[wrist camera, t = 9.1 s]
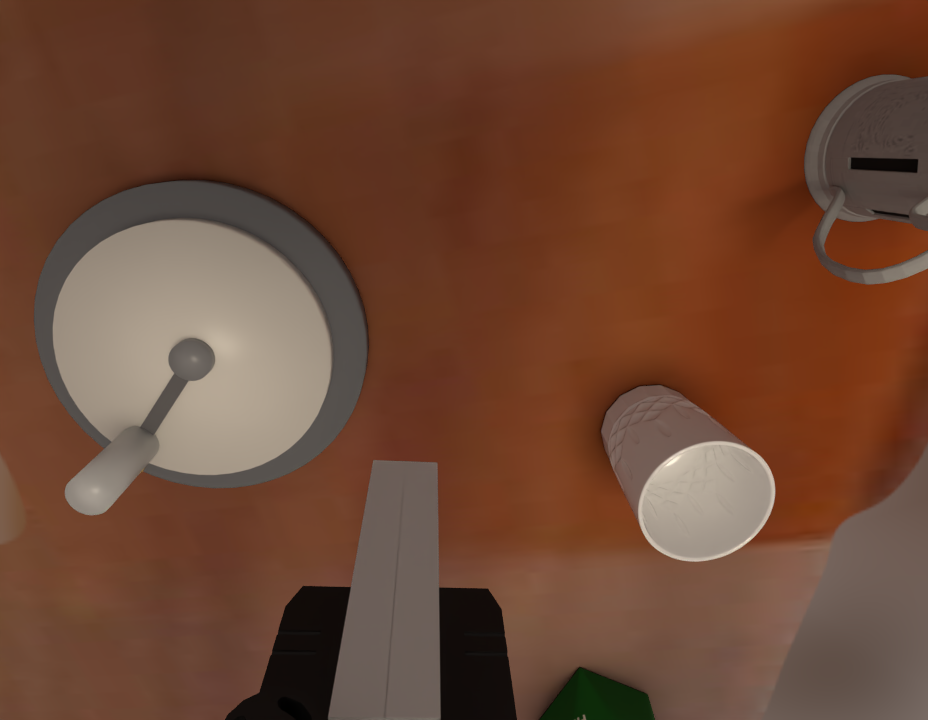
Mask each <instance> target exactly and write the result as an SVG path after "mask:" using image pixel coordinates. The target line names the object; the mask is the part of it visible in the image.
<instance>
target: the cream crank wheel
mask: <svg viewBox="0 0 928 720" xmlns="http://www.w3.org/2000/svg"><path fill="white" fill-rule="evenodd" d="M53 346H54V352H55V357H56V362H57V365H58V368H59V371H60V374H61V377H62V380H63V382H64V384H65V386H66V388H67V390H68V392H69V394H70V396H71V397H72V399H73V401H74V402H75V404H76V405H77V407H78V408H79V410H80V411H81V412H82V413H83V415H84V416H85V417H86V418H87V419H88V421H89V422H90V423H91V424H92V425H93V426H94V427H95V428H96V429H97V430H98V431H99V432H100V433H101V434H102V435H104V436H105V437H106V438H107V439H109V440H110V441H111V443H110V444H109V445H108V446H107V447H106V448H105V449H104V450H103V451H102V452H100V453H99V454H98V455H97V456H96V457H95V458H94V459H93V460H92V461H91V462H90V463H89V464H88V465H87V466H85V467H84V468H83V469H82V470H81V471H80V472H79V473H78V474H77V475H76V476H75V477H74V478H73V479H72V480H71V481H70V482H68V484H67V486H66V488H65V497H66V500H67V502H68V503H69V504H70V506H71V507H72V508H74V509H75V510H76V511H78V512H80V513H83V514H87V515H98V514H101V513H104V512H105V511H107V510H108V509H109V508H110V507H111V505H112V504H113V503H114V502H115V501H116V500H117V499H118V497H119V496H120V495H121V494H122V493H123V492H124V491H125V489H126V488H127V487H128V486H129V485H130V484H131V483H132V482H133V480H134V479H135V478H136V477H137V476H138V475H139V474H140V472H141V471H142V470H143V469H144V468H145V467H146V466H147V464H148V463H150V464H153V465H156V466H158V467H161V468H164V469H168V470H172V471H177V472H181V473H188V474H196V475H220V474H230V473H235V472H240V471H244V470H248V469H251V468H254V467H257V466H260V465H262V464H264V463H266V462H268V461H270V460H272V459H274V458H276V457H278V456H279V455H281V454H282V453H284V452H285V451H287V450H288V449H289V448H290V447H292V446H293V445H294V444H295V443H296V442H297V441H298V440H299V439H300V438H301V437H302V436H303V435H304V434H305V432H306V431H307V430H308V429H309V428H310V426H311V425H312V423H313V421H314V420H315V418H316V417H317V415H318V413H319V411H320V408H321V406H322V404H323V401H324V399H325V397H326V394H327V392H328V389H329V385H330V381H331V377H332V370H333V362H334V355H333V340H332V334H331V329H330V325H329V322H328V319H327V315H326V313H325V310H324V308H323V306H322V304H321V302H320V299H319V297H318V296H317V294H316V292H315V291H314V289H313V288H312V286H311V284H310V283H309V281H308V280H307V279H306V278H305V276H304V275H303V274H302V273H301V272H300V270H299V269H298V268H297V267H296V266H295V265H294V264H293V263H292V262H291V261H290V260H289V259H288V258H287V257H286V256H285V255H283V254H282V253H281V252H279V251H278V250H277V249H275V248H274V247H273V246H272V245H270V244H268V243H267V242H265V241H263V240H262V239H260V238H258V237H257V236H255V235H253V234H251V233H248V232H246V231H244V230H242V229H239V228H237V227H234V226H231V225H227V224H224V223H221V222H217V221H211V220H205V219H198V218H173V219H162V220H158V221H153V222H149V223H145V224H141V225H137V226H134V227H131V228H128V229H126V230H123V231H121V232H118V233H116V234H114V235H112V236H110V237H109V238H107V239H105V240H103V241H101V242H100V243H99V244H97V245H96V246H95V247H94V248H92V249H91V250H90V251H89V252H87V253H86V254H85V255H84V256H83V258H82V259H81V260H80V261H79V262H78V263H77V264H76V265H75V267H74V268H73V270H72V271H71V273H70V274H69V276H68V277H67V279H66V280H65V283H64V285H63V287H62V289H61V291H60V294H59V296H58V300H57V304H56V307H55V311H54V320H53Z"/></svg>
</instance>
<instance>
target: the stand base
mask: <svg viewBox="0 0 928 720" xmlns="http://www.w3.org/2000/svg"><path fill="white" fill-rule="evenodd" d="M173 218H198V219H205V220H211V221H217V222H221V223H224V224H227V225H231V226H234V227H237V228H239V229H242V230H244V231H246V232H248V233H251V234H253V235H255V236H257V237H258V238H260V239H262V240H263V241H265V242H267V243H268V244H270V245H272V246H273V247H274V248H275V249H277V250H278V251H279V252H281V253H282V254H283V255H285V256H286V257H287V258H288V259H289V260H290V261H291V262H292V263H293V264H294V265H295V266H296V267H297V268H298V269H299V270H300V272H301V273H302V274H303V275H304V276H305V278H306V279H307V280H308V281H309V283H310V284H311V286H312V288H313V289H314V291H315V292H316V294H317V296H318V297H319V299H320V302H321V304H322V306H323V308H324V310H325V313H326V315H327V319H328V322H329V325H330V329H331V334H332V340H333V355H334V362H333V370H332V377H331V381H330V385H329V389H328V392H327V394H326V397H325V399H324V401H323V404H322V406H321V408H320V411H319V413H318V415H317V417H316V418H315V420H314V421H313V423H312V425H311V426H310V428H309V429H308V430H307V431H306V432H305V434H304V435H303V436H302V437H301V438H300V439H299V440H298V441H297V442H296V443H295V444H294V445H293V446H292V447H290V448H289V449H288V450H287V451H285V452H284V453H282V454H281V455H279V456H278V457H276V458H274V459H272V460H270V461H268V462H266V463H264V464H262V465H260V466H257V467H254V468H251V469H248V470H244V471H240V472H235V473H230V474H220V475H196V474H188V473H181V472H177V471H172V470H168V469H164V468H161V467H158V466H156V465H153V464H150V463H148V464H147V466H146V467H145V468H144V469H143V470H142V471H144V472H146V473H149V474H151V475H153V476H156V477H159V478H162V479H165V480H168V481H172V482H175V483H180V484H185V485H190V486H196V487H208V488H235V487H242V486H250V485H255V484H259V483H263V482H267V481H271V480H273V479H276V478H279V477H281V476H284V475H286V474H289V473H291V472H292V471H294V470H296V469H298V468H300V467H301V466H303V465H305V464H306V463H308V462H309V461H311V460H312V459H313V458H315V457H316V456H317V455H319V454H320V453H321V452H322V451H323V450H324V449H325V448H326V447H327V446H328V445H329V444H330V443H331V442H332V441H333V440H334V439H335V438H336V436H337V435H338V434H339V433H340V431H341V430H342V429H343V427H344V426H345V424H346V423H347V421H348V419H349V417H350V416H351V414H352V412H353V410H354V407H355V405H356V402H357V400H358V397H359V395H360V392H361V388H362V384H363V380H364V376H365V372H366V368H367V362H368V351H369V338H368V325H367V320H366V314H365V309H364V306H363V303H362V300H361V297H360V294H359V290H358V288H357V286H356V284H355V282H354V280H353V278H352V276H351V274H350V271H349V270H348V268H347V267H346V265H345V264H344V262H343V261H342V259H341V257H340V256H339V254H338V253H337V252H336V251H335V249H334V248H333V247H332V246H331V245H330V243H329V242H328V241H327V240H326V239H325V237H324V236H323V235H321V234H320V233H319V232H318V231H317V230H316V229H315V228H314V227H313V226H312V225H311V224H310V223H309V222H307V221H306V220H305V219H303V218H302V217H301V216H299V215H298V214H296V213H295V212H294V211H292V210H291V209H290V208H288V207H286V206H284V205H282V204H281V203H279V202H277V201H275V200H273V199H272V198H270V197H267V196H265V195H262V194H260V193H258V192H255V191H253V190H250V189H247V188H243V187H240V186H236V185H232V184H229V183H222V182H215V181H208V180H178V181H170V182H163V183H155V184H148V185H143V186H140V187H136V188H132V189H129V190H125V191H123V192H120V193H118V194H116V195H114V196H111V197H109V198H107V199H105V200H103V201H101V202H100V203H98V204H97V205H95V206H93V207H92V208H90V209H89V210H87V211H86V212H85V213H83V214H82V215H81V216H80V217H79V218H78V219H77V220H76V221H74V222H73V223H72V224H71V225H70V226H69V227H68V228H67V230H66V231H65V232H64V233H63V235H62V236H61V237H60V238H59V239H58V241H57V242H56V244H55V245H54V247H53V249H52V251H51V252H50V254H49V256H48V258H47V259H46V262H45V265H44V267H43V270H42V272H41V275H40V278H39V282H38V287H37V291H36V296H35V308H34V325H35V336H36V342H37V347H38V351H39V355H40V359H41V362H42V365H43V367H44V370H45V373H46V375H47V378H48V380H49V382H50V384H51V386H52V388H53V389H54V391H55V393H56V395H57V397H58V399H59V400H60V401H61V403H62V404H63V406H64V407H65V409H66V410H67V411H68V413H69V414H70V416H71V417H72V418H73V419H74V420H75V421H76V422H77V423H78V425H79V426H80V427H81V428H82V429H83V430H84V431H85V432H86V433H87V434H88V435H89V436H90V437H92V438H93V439H94V440H95V441H96V442H97V443H98V444H99V445H101V446H102V447H103V448H106V447H107V446H108V445H109V444H110V443H111V441H110V440H109V439H107V438H106V437H105V436H104V435H102V434H101V433H100V432H99V431H98V430H97V429H96V428H95V427H94V426H93V425H92V424H91V423H90V422H89V421H88V419H87V418H86V417H85V416H84V415H83V413H82V412H81V411H80V410H79V408H78V407H77V405H76V404H75V402H74V401H73V399H72V397H71V396H70V394H69V392H68V390H67V388H66V386H65V384H64V382H63V380H62V377H61V374H60V371H59V368H58V365H57V362H56V357H55V352H54V346H53V320H54V311H55V307H56V304H57V300H58V296H59V294H60V291H61V289H62V287H63V285H64V283H65V280H66V279H67V277H68V276H69V274H70V273H71V271H72V270H73V268H74V267H75V265H76V264H77V263H78V262H79V261H80V260H81V259H82V258H83V256H84V255H85V254H86V253H87V252H89V251H90V250H91V249H92V248H94V247H95V246H96V245H97V244H99V243H100V242H101V241H103V240H105V239H107V238H109V237H110V236H112V235H114V234H116V233H118V232H121V231H123V230H126V229H128V228H131V227H134V226H137V225H141V224H145V223H149V222H153V221H158V220H162V219H173ZM142 471H141V473H142Z"/></svg>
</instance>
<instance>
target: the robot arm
mask: <svg viewBox="0 0 928 720" xmlns="http://www.w3.org/2000/svg"><path fill="white" fill-rule="evenodd" d="M225 720H517V717H516V710H515V702H514V695H513V688H512V681H511V674H510V667H509V660H508V657H507V645H506V638H505V631H504V624H503V617H502V610H501V608H500V606H499V605H498V603H497V602H496V600H495V599H494V597H493V596H492V594H491V593H490V591H489V590H488V589H477V588H439V553H438V473H437V463H434V462H408V461H382V460H373V466H372V471H371V477H370V483H369V488H368V494H367V500H366V505H365V511H364V517H363V522H362V528H361V533H360V539H359V545H358V550H357V556H356V562H355V567H354V573H353V579H352V584H351V587H321V586H303V587H302V588H301V589H300V590H299V591H298V593H297V594H296V595H295V596H294V597H293V598H292V600H291V601H290V602H289V603H288V604H287V605H286V607H285V610H284V613H283V617H282V620H281V623H280V627H279V630H278V635H277V636H276V640H275V643H274V646H273V650H272V655H271V656H270V659H269V663H268V666H267V669H266V673H265V676H264V679H263V682H262V686H261V689H260V692H259V693H258V694H256V695H254V696H252V697H250V698H248V699H245V700H243V701H242V702H241V703H240V704H239V705H238V706H237V707H236V708H235V709H234V710H232V711H231V712H230V713H229V714H228V715H227V717H226V719H225Z"/></svg>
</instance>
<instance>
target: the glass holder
mask: <svg viewBox="0 0 928 720" xmlns="http://www.w3.org/2000/svg"><path fill="white" fill-rule="evenodd" d="M804 171H805V178H806V183H807V186H808V188H809V191H810V193H811V195H812V197H813V198H814V200H815V202H816V203H817V204H818V205H819V206H820V207H821V208H822V209H823V210H824V211H826V212H825V214H824V215H823V217H822V219H821V221H820V223H819V225H818V227H817V229H816V231H815V234H814V237H813V246H814V250H815V253H816V255H817V256H818V258H819V260H820V262H821V264H822V265H823V266H824V267H825V268H826V269H828V270H829V271H830V272H831V273H832V274H833V275H836V276H838V277H841V278H843V279H846V280H848V281H851V282H857V283H862V284H878V283H888V282H891V281H895V280H899V279H903V278H906V277H909V276H911V275H913V274H916V273H918V272H921V271H923V270H925V269H927V268H928V250H927V251H925V252H923V253H922V254H920V255H918V256H916V257H914V258H911V259H909V260H907V261H905V262H902V263H900V264H896V265H893V266H889V267H886V268H882V269H871V270H863V269H856V268H850V267H847V266H845V265H842V264H840V263H837V262H835V261H833V260H832V259H830V258H829V257H828V256H827V255H826V253H825V249H824V243H825V240H826V237H827V234H828V232H829V230H830V228H831V226H832V224H833V222H834V221H835V219H836V218H839V219H841V220H846V221H851V222H864V221H870V220H875V219H878V218H880V219H886V220H893V221H899V222H905V223H912V224H913V225H914V226H915V227H916V228H918V229H922V230H926V231H928V77H921V78H913V79H911V78H908V77H904V76H900V75H878V76H873V77H869V78H866V79H864V80H861V81H858V82H857V83H855V84H853V85H851V86H850V87H848V88H846V89H845V90H844V91H842V92H841V93H840V94H839V95H837V96H836V97H835V98H834V99H833V100H832V101H831V102H830V103H829V104H828V105H827V107H826V108H825V109H824V111H823V112H822V113H821V115H820V116H819V118H818V119H817V121H816V123H815V125H814V127H813V129H812V131H811V134H810V136H809V139H808V142H807V146H806V152H805V157H804Z"/></svg>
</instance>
